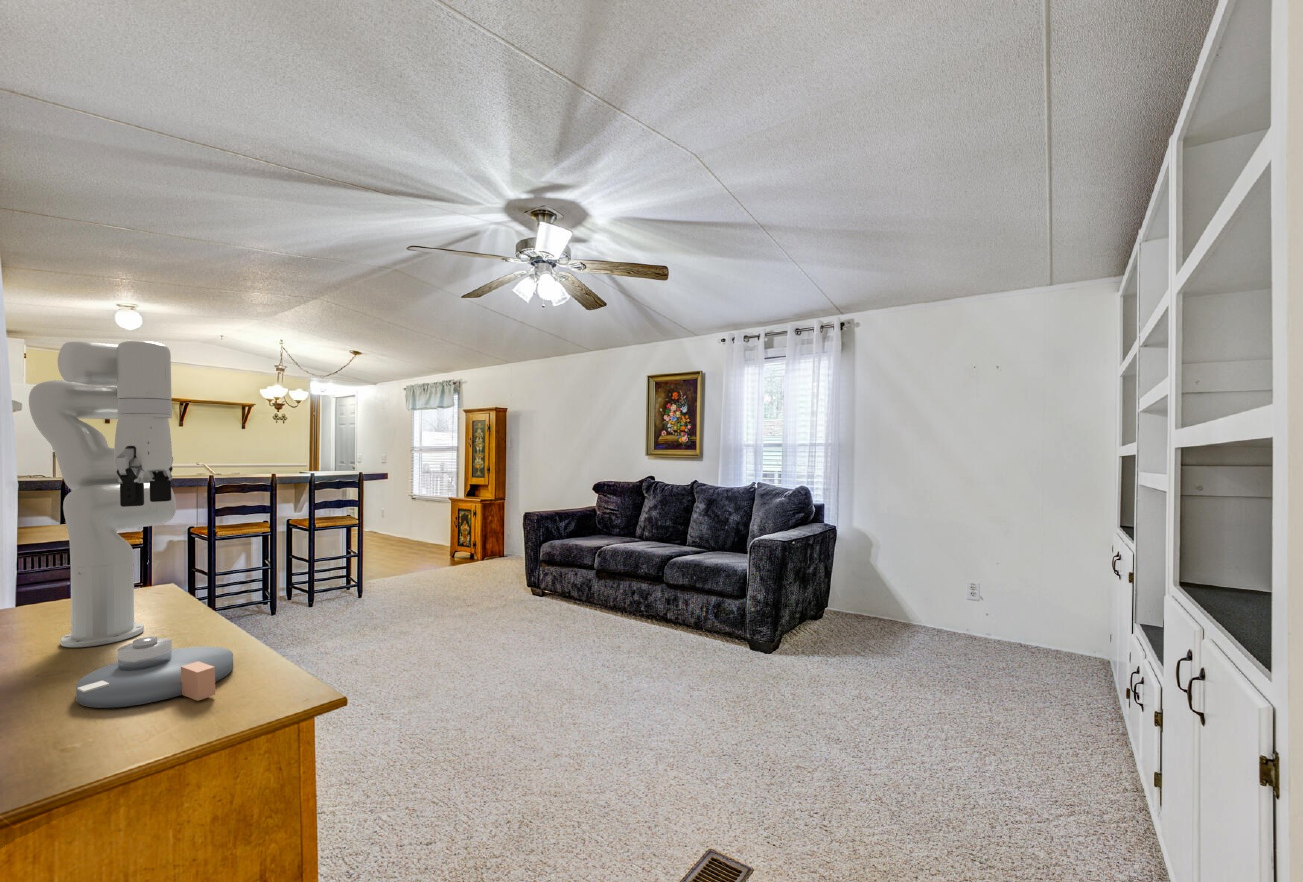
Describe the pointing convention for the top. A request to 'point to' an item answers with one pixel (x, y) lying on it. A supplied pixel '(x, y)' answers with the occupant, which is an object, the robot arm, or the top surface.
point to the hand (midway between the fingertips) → (147, 503)
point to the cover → (144, 653)
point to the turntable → (157, 679)
